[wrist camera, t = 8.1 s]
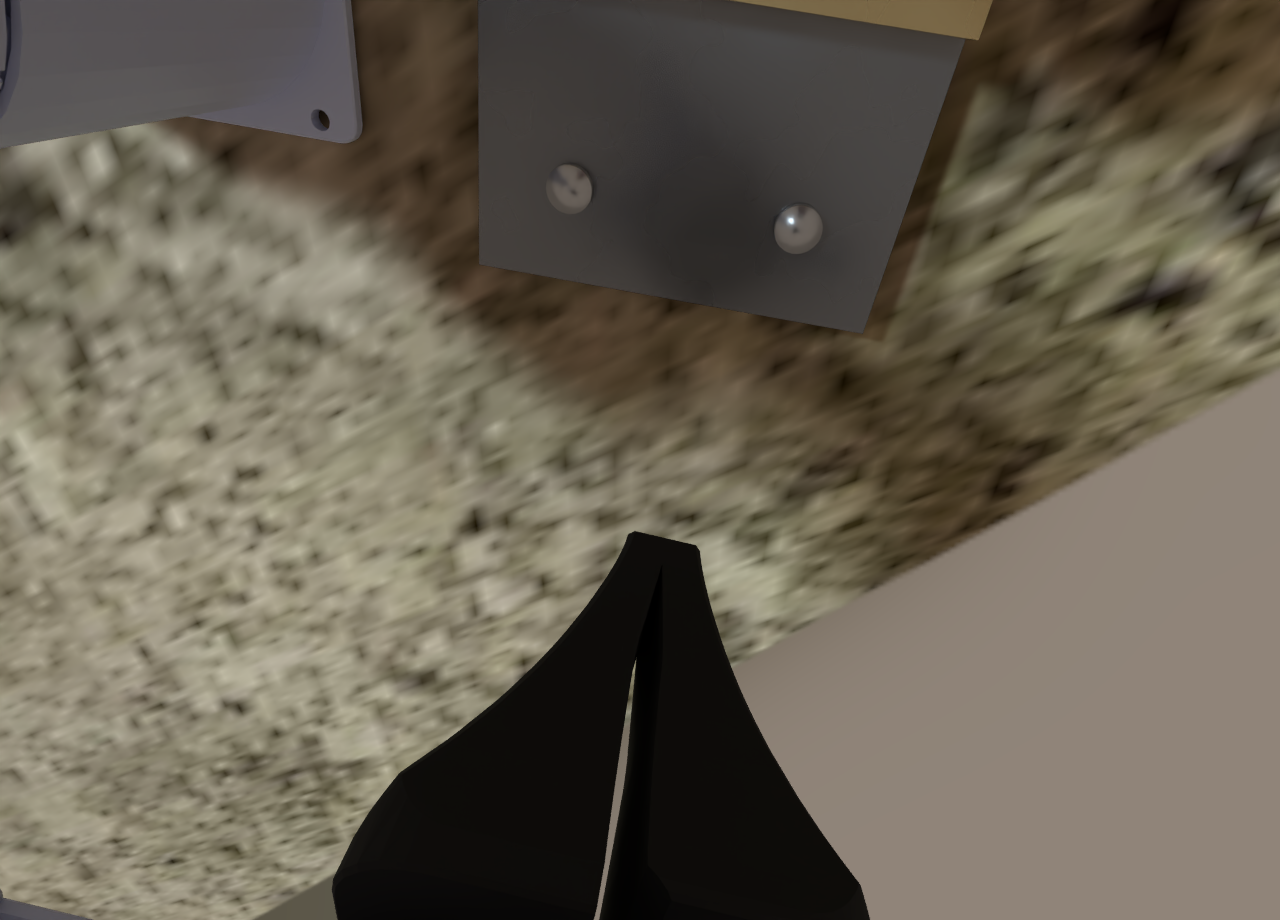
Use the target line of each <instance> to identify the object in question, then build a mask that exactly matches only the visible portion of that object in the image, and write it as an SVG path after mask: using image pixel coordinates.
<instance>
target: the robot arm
mask: <svg viewBox="0 0 1280 920" xmlns="http://www.w3.org/2000/svg"><path fill="white" fill-rule="evenodd" d="M320 110H322V111H324V112H325V113H326V114H327V116H328V118H329V121H330V126H329V128H326V127H324V126H323V125H322V124H321V122H320V119H319V111H320ZM186 116H188V117H193V118H199V119H205V120H211V121H216V122H222V123H228V124H233V125H239V126H245V127H251V128H256V129H262V130H268V131H274V132H279V133H285V134H291V135H296V136H302V137H308V138H314V139H319V140H325V141H331V142H336V143H350V142H353V141H355V140H356V139H358V138H359V137H360V135H361V133H362V126H363V124H362V113H361V102H360V92H359V81H358V70H357V60H356V49H355V38H354V28H353V17H352V6H351V0H0V148H5V147H11V146H17V145H23V144H29V143H34V142H40V141H46V140H52V139H58V138H64V137H69V136H75V135H81V134H87V133H93V132H98V131H104V130H110V129H116V128H122V127H128V126H133V125H139V124H145V123H151V122H157V121H163V120H168V119H174V118H180V117H186ZM636 657H637V658H636ZM635 660H636V668H635V679H634V690H633V701H632V712H631V723H630V734H629V746H628V757H627V766H626V774H625V782H624V789H623V795H622V800H621V805H620V811H619V817H618V822H617V827H616V833H615V838H614V844H613V849H612V855H611V860H610V865H609V871H608V876H607V882H606V887H605V893H604V898H603V903H602V908H601V913H600V919H599V920H870V918H869V914H868V910H867V906H866V903H865V899H864V895H863V892H862V889H861V885H860V884H859V882H858V881H857V880H856V879H855V877H854V876H853V875H852V873H851V872H850V871H849V869H848V868H847V867H846V865H845V864H844V863H843V861H842V860H841V859H840V857H839V856H838V855H837V853H836V852H835V851H834V849H833V848H832V847H831V845H830V844H829V842H828V841H827V839H826V838H825V837H824V836H823V834H822V832H821V831H820V830H819V828H818V826H817V825H816V823H815V822H814V821H813V819H812V817H811V816H810V814H809V813H808V812H807V810H806V808H805V807H804V805H803V804H802V802H801V801H800V799H799V798H798V796H797V795H796V793H795V791H794V790H793V788H792V786H791V785H790V783H789V781H788V779H787V778H786V776H785V774H784V773H783V771H782V770H781V768H780V766H779V764H778V763H777V761H776V759H775V758H774V756H773V754H772V753H771V751H770V749H769V747H768V745H767V743H766V741H765V740H764V738H763V736H762V734H761V732H760V730H759V728H758V726H757V724H756V722H755V720H754V718H753V716H752V714H751V712H750V710H749V707H748V705H747V703H746V701H745V699H744V697H743V694H742V692H741V690H740V688H739V685H738V683H737V680H736V678H735V676H734V673H733V670H732V668H731V665H730V663H729V660H728V657H727V655H726V652H725V649H724V646H723V644H722V641H721V638H720V635H719V631H718V628H717V625H716V622H715V619H714V615H713V612H712V609H711V605H710V601H709V597H708V593H707V589H706V585H705V581H704V576H703V571H702V565H701V558H700V551H699V549H698V548H697V546H696V545H692V544H688V543H684V542H679V541H675V540H671V539H667V538H662V537H658V536H654V535H649V534H645V533H641V532H637V531H634V532H632V533H630V534H628V536H627V540H626V542H625V545H624V547H623V549H622V551H621V553H620V555H619V557H618V559H617V561H616V563H615V564H614V566H613V568H612V569H611V571H610V573H609V574H608V576H607V577H606V579H605V580H604V582H603V583H602V585H601V586H600V588H599V589H598V590H597V592H596V593H595V595H594V596H593V598H592V599H591V601H590V602H589V603H588V605H587V606H586V607H585V608H584V610H583V611H582V612H581V613H580V615H579V616H578V617H577V618H576V620H575V621H574V622H573V623H572V625H571V626H570V627H569V628H568V629H567V631H566V632H565V633H564V634H563V635H562V636H561V638H560V639H559V640H558V641H557V642H556V643H555V644H554V645H553V647H552V648H551V649H550V650H549V651H548V652H547V653H546V654H545V655H544V656H543V657H542V658H541V659H540V660H539V661H538V662H537V663H536V664H535V665H534V666H533V667H532V668H531V669H530V670H529V671H528V672H527V673H526V674H525V675H524V676H523V677H522V678H521V679H520V680H519V681H518V682H517V683H515V684H514V685H513V686H512V687H511V688H510V689H509V690H508V691H507V692H506V693H505V694H503V695H502V696H501V697H500V698H499V699H498V700H497V701H495V702H494V703H493V704H492V705H491V706H489V707H488V708H487V709H486V710H484V711H483V712H482V713H481V714H479V715H478V716H477V717H476V718H474V719H473V720H472V721H471V722H469V723H468V724H467V725H466V726H465V727H463V728H462V729H461V730H460V731H458V732H457V733H456V734H454V735H453V736H452V737H450V738H449V739H448V740H446V741H445V742H443V743H442V744H440V745H439V746H438V747H436V748H435V749H433V750H432V751H430V752H429V753H427V754H426V755H424V756H423V757H422V758H420V759H419V760H417V761H416V762H414V763H413V764H411V765H410V766H409V767H407V768H406V769H404V770H403V771H401V772H400V773H399V774H398V776H397V777H396V778H395V779H394V780H393V782H392V783H391V784H390V785H389V787H388V788H387V789H386V791H385V792H384V793H383V794H382V796H381V797H380V798H379V800H378V801H377V802H376V804H375V805H374V806H373V808H372V809H371V811H370V812H369V813H368V815H367V817H366V818H365V820H364V821H363V823H362V824H361V826H360V828H359V829H358V831H357V833H356V834H355V836H354V837H353V839H352V841H351V844H350V846H349V848H348V850H347V852H346V854H345V856H344V858H343V860H342V862H341V864H340V866H339V868H338V870H337V872H336V874H335V876H334V878H333V886H332V893H333V898H334V904H335V909H336V914H337V919H338V920H594V917H595V912H596V909H597V903H598V897H599V892H600V886H601V880H602V875H603V869H604V863H605V855H606V847H607V839H608V832H609V824H610V817H611V810H612V802H613V795H614V787H615V781H616V774H617V767H618V760H619V753H620V747H621V740H622V734H623V727H624V721H625V714H626V708H627V702H628V695H629V689H630V683H631V677H632V671H633V667H634V664H635ZM0 920H92V919H88V918H84V917H80V916H76V915H72V914H68V913H64V912H60V911H55V910H51V909H47V908H43V907H39V906H35V905H31V904H27V903H23V902H19V901H14V900H10V899H6V898H3V894H2V891H1V889H0Z"/></svg>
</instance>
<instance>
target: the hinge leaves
mask: <svg viewBox="0 0 1280 920" xmlns="http://www.w3.org/2000/svg"><path fill="white" fill-rule="evenodd" d="M992 1H993V0H478V122H479V264H480V265H485V266H491V267H496V268H502V269H507V270H513V271H518V272H524V273H529V274H535V275H540V276H546V277H551V278H557V279H562V280H568V281H574V282H579V283H585V284H590V285H596V286H601V287H607V288H612V289H618V290H623V291H629V292H634V293H640V294H645V295H651V296H657V297H662V298H668V299H673V300H679V301H684V302H690V303H695V304H701V305H706V306H712V307H717V308H723V309H728V310H734V311H740V312H745V313H751V314H756V315H762V316H767V317H773V318H778V319H784V320H789V321H795V322H800V323H806V324H811V325H817V326H823V327H828V328H834V329H839V330H845V331H850V332H856V333H861V334H863V332H864V329H865V326H866V323H867V320H868V317H869V314H870V311H871V309H872V306H873V303H874V300H875V297H876V294H877V291H878V289H879V286H880V283H881V280H882V277H883V274H884V271H885V269H886V266H887V263H888V260H889V257H890V254H891V251H892V248H893V246H894V243H895V240H896V237H897V234H898V231H899V228H900V226H901V223H902V220H903V217H904V214H905V211H906V208H907V205H908V203H909V200H910V197H911V194H912V191H913V188H914V185H915V183H916V180H917V177H918V174H919V171H920V168H921V165H922V163H923V160H924V157H925V154H926V151H927V148H928V145H929V142H930V140H931V137H932V134H933V131H934V128H935V125H936V122H937V120H938V117H939V114H940V111H941V108H942V105H943V102H944V99H945V97H946V94H947V91H948V88H949V85H950V82H951V79H952V77H953V74H954V71H955V68H956V65H957V62H958V59H959V57H960V54H961V51H962V48H963V45H964V42H965V39H970V40H979V37H980V35H981V32H982V29H983V26H984V24H985V21H986V18H987V15H988V12H989V10H990V7H991V4H992Z"/></svg>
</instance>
